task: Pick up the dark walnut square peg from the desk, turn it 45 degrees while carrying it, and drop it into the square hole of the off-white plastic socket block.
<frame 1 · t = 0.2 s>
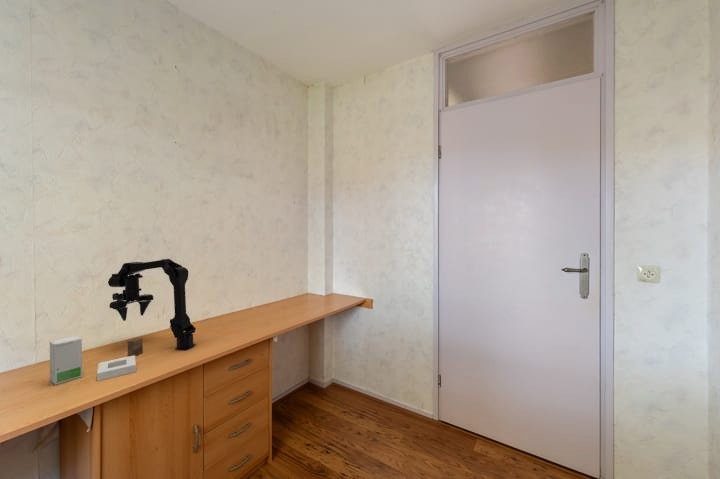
hand: (133, 318, 151), 14 cm above the table, tool pointing down, fingers open, 9 cm apart
skincare box: (66, 379, 118), on the table
socket: (117, 370, 125), on the table
peg: (135, 354, 141), on the table
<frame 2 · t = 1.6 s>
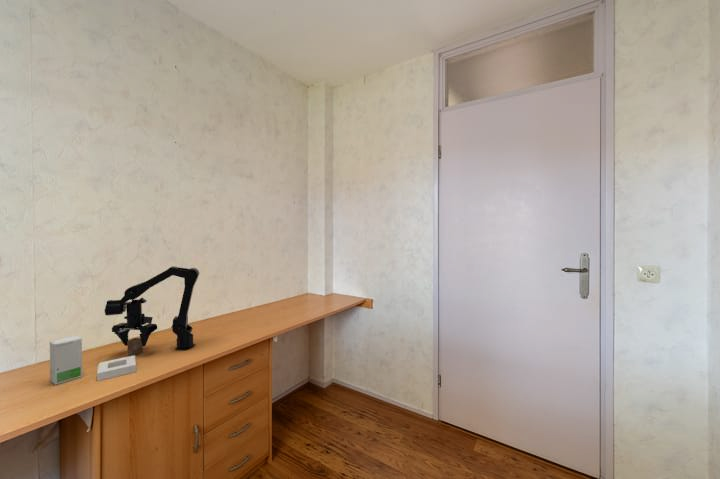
hand: (135, 345, 141), 4 cm above the table, tool pointing down, fingers open, 9 cm apart
nothing on the table moved.
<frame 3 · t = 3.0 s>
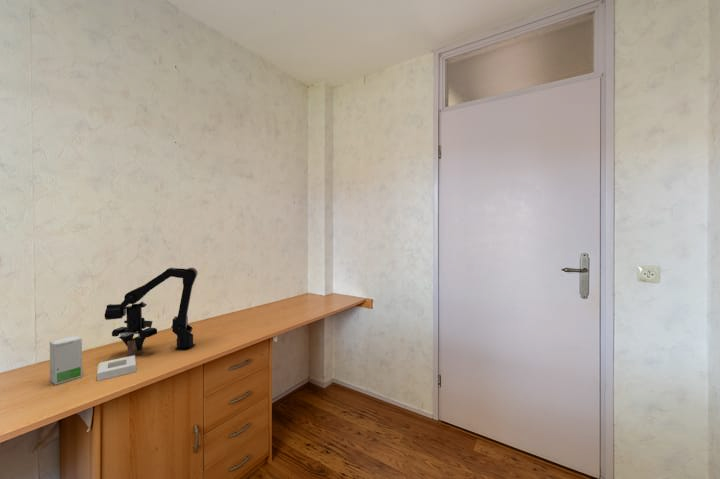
hand: (135, 350, 141), 2 cm above the table, tool pointing down, fingers closed on peg, 4 cm apart
peg: (135, 354, 141), on the table, touching gripper
everything else where it was.
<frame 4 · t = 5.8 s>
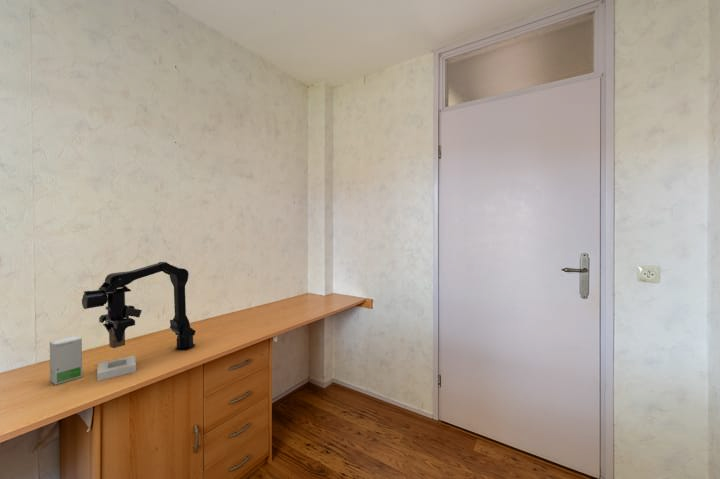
hand: (117, 340, 125), 12 cm above the table, tool pointing down, fingers closed on peg, 4 cm apart
peg: (117, 345, 125), point 10 cm above the table, touching gripper
everything else where it was.
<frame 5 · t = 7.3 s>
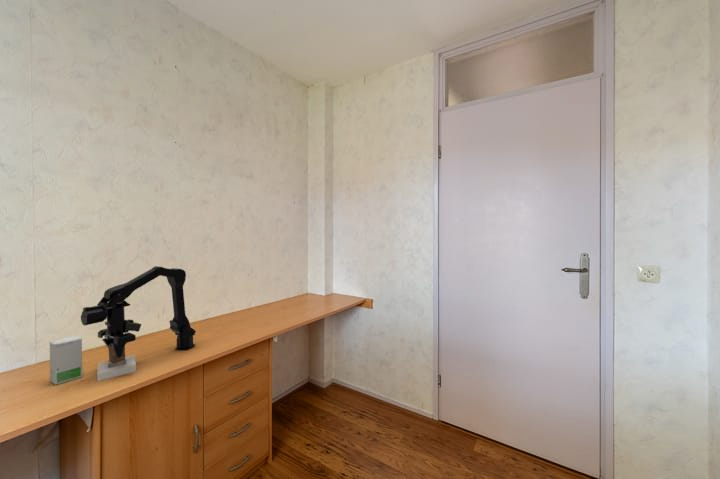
hand: (117, 355, 124), 6 cm above the table, tool pointing down, fingers closed on peg, 4 cm apart
peg: (117, 360, 124), point 4 cm above the table, touching gripper
everything else where it was.
when the fingers open (4 cm above the table, at t = 8.6 s): peg drops 2 cm, resting in socket.
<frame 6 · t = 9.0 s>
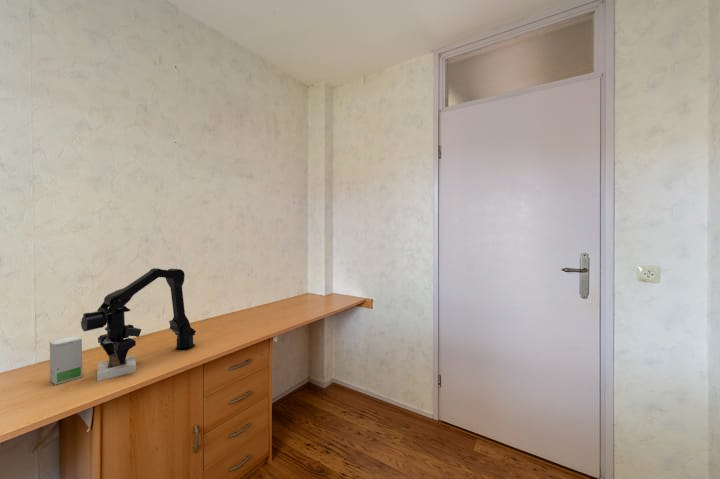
hand: (117, 361, 124), 4 cm above the table, tool pointing down, fingers open, 8 cm apart
peg: (117, 371, 125), resting in socket
everything else where it was.
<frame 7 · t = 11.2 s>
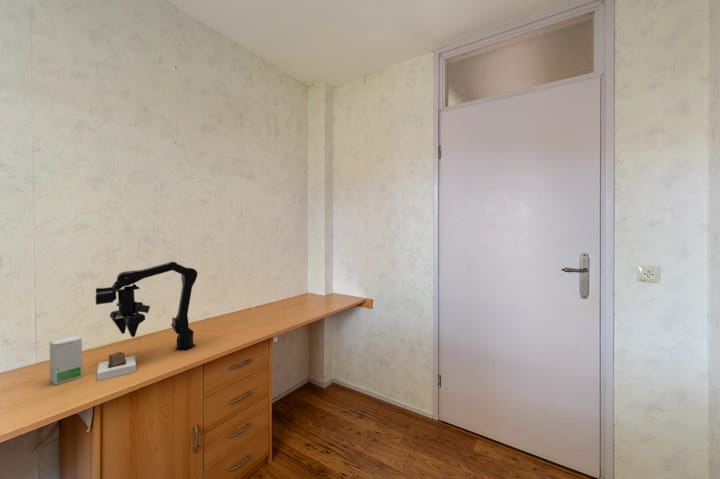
hand: (128, 335, 134), 12 cm above the table, tool pointing down, fingers open, 9 cm apart
nothing on the table moved.
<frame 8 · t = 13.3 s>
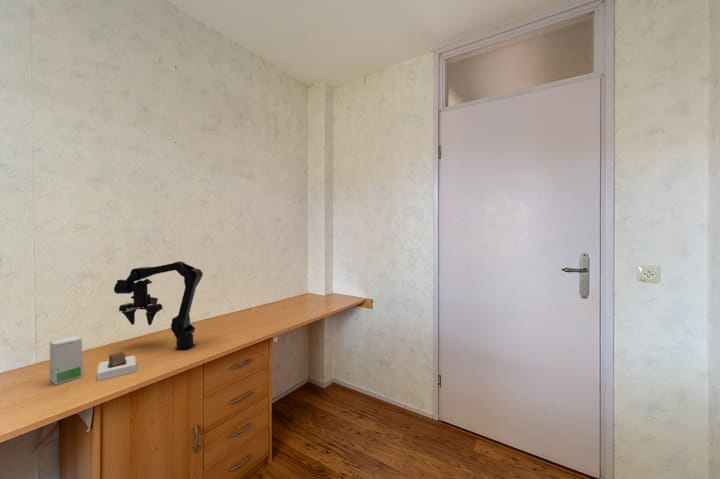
hand: (141, 324, 147), 12 cm above the table, tool pointing down, fingers open, 9 cm apart
nothing on the table moved.
at the end: peg 0.0 cm off-centre on the socket, point 0.0 cm above the socket's base; peg tilted 0°; the gripper is holding nothing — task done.
